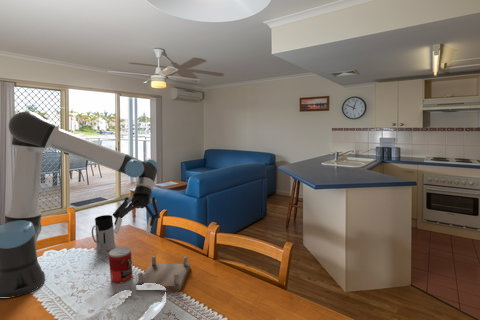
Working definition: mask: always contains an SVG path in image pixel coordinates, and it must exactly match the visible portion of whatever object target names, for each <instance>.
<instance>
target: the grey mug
mask: <svg viewBox="0 0 480 320" xmlns="http://www.w3.org/2000/svg"><path fill="white" fill-rule="evenodd" d="M94 223H95V224H94V225H93V226H92V227H91V228H92V229H91V238H92V239H93V242H94V243H95V244H96V247H95V250H96V251H97V250H98V251H97V252H107V251H108V252H109V251H111V250H112V249H115V248H117V245H116V243H115V241H116V240H115V232H114V229H115V226H114V221H113V215H111V214H110V215H109V214H105V215H100V216H96V217H95V218H94ZM94 229H95V235H94Z"/></svg>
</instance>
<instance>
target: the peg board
mask: <svg viewBox="0 0 480 320" xmlns="http://www.w3.org/2000/svg"><path fill="white" fill-rule="evenodd" d="M182 260H183V263H165V262H164V263H159V262H158V263H157V257H156V255H153V256H151V263H150V265H149V266H148V268H147V269H146V270H145V272H144V273H143V272H140V273H139V272H138V273H137V275H138V276H137V277H138V281H137V282H136V283H135V285H142V284H144V283H156V284H160V285H162V286H164V287H165V288H166V290H167V291H166V292H180V293H181V290H182V287H183V285H184V283H185V281H186V279H187V277H188V275H189V272H190V270H191V263H188V262H189V261H188V256H183V259H182Z"/></svg>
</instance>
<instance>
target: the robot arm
mask: <svg viewBox="0 0 480 320" xmlns="http://www.w3.org/2000/svg"><path fill="white" fill-rule="evenodd" d="M8 130H9V131H8V132H9V133H10V135H11V136H12V137H11V139H12V140H11V146H12V147H13V148H14V149H15V160H14V169H13V170H14V171H13V180H12V181H13V182H12V191H11V201H10V210H8V211H7V212H6V213H5V214H4V222H3V224H2V225H0V297H12V296H18V295H21V296H23V295H22V294H24V295H26V294H25V293H27V294H28V292H29V293H31V292H33V291H35V290H37V289H38V288H37V287H39V286H40V285H41V284H42V283H43V282H44V281H46V274H45V271H43V269H42V266H41V265H40V263H39V262H38V255H37V253H38V252H37V240H38V237H39V236H40V234H41V231H42V222H41V221H42V212H41V211H40V209H38V204H39V195H40V185H41V177H42V175H41V174H42V167H43V165H42V164H43V155H44V151H46V150H47V149H49V148H52V149H55V150H58V151H60V152H63V153H66V154H69V155H71V156H74V157H77V158H80V159H82V160H86V161H88V162H91V163H93V164H96V165H99V166H102V167H105V168H108V169H111V170H113V171H116V172H119V173H122V174H124V175H127V177H130V178H137V182H136V184H135V188H134V192H133V195H132V198H129V197H127V196H126V197H125V199H124V200H123V202H122V203H121V204H120V205H119V206H118V208H116V210H115V211H114V212H113V214H112V217H114V219H115V221H114V222H113V226H114V234H116V235H119V232H120V229H121V226H122V222H123V218H124V217H126V215H128V214H129V213H130V212H131V211H132V210H135V209H144V208H145V209H146V211H147V212H148V213H149V216H150V217H149V218H148V222H147V225H146V226H147V227H146V230H145V233H146V234H147V235H150V234H151V229H152V227H154V225H155V223H156V220H157V219H160V218H161V215H160V211H159V209H158V205H157V199H156V197H152V192H153V188H154V184H155V181H156V178H157V173H158V170H159V164H158V162H157V161H155V160H154V159H149V158H147V159H144V161H143V160H140V159H138V158H136V157H133V156H131V155H129V154H126V153H123V152H119V151H118V150H117V151H116V150H113V149H112V148H109V147H106V146H104V145H102V144H98V143H96V142H94V141H91V140H89V139H86V138H84V137H81V136H79V135H76V134H74V133H71V132H69V131H66V130H65V129H61V128H60V127H59V125H58V124H56V123H54V122H51V121H49V120H48V119H47V117H45V115H42V114H40V113H37V112H33V111H29V110H28V111H27V110H26V111H20V112H18V113H16V114H14V115H13V116H12V117H11V118H10V120H9V121H8ZM151 197H152V198H151ZM150 203H151V204H152V206H153V210H154V213H155V214H154V213H153V211H152V210H151V209H150V207H149V204H150ZM44 283H45V282H44ZM44 283H43V284H44ZM43 284H42V285H43ZM42 285H41V286H42ZM41 286H40V287H41ZM40 287H39V288H40ZM36 288H37V289H36ZM34 289H35V290H34ZM32 290H33V291H32ZM30 291H31V292H30ZM18 297H19V296H18Z"/></svg>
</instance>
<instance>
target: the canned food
mask: <svg viewBox="0 0 480 320" xmlns="http://www.w3.org/2000/svg"><path fill="white" fill-rule="evenodd" d="M108 260H109V261H108V263H109V273H110V274H109V275H110V276H109V277H110V281H111V282H112V283H116V284H121V283H120V282H123V283H125V281H126V282H128V281H130V280H131V279H132V277H133V263H132V251H131V248H130V247H128V246H122V247H121V246H120V247H115V248H113V249H111V250H109V251H108ZM129 279H130V280H129ZM127 280H128V281H127Z"/></svg>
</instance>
